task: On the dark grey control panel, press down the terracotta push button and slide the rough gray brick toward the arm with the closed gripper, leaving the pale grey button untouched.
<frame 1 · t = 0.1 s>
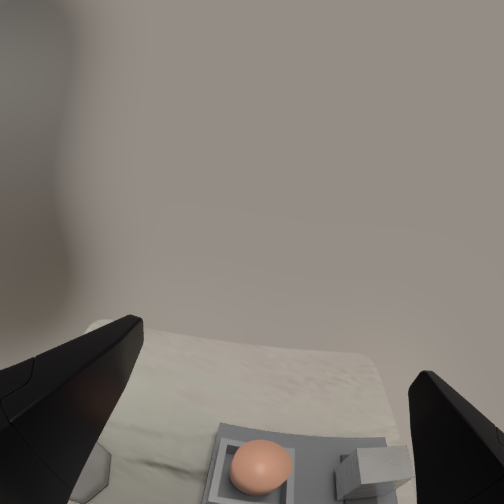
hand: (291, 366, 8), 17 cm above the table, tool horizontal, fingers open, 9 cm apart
flask: (70, 464, 13), on the table
terracotta button: (259, 468, 14), point 5 cm above the table, slide at 0.0 cm
rough gray brick: (373, 473, 14), point 4 cm above the table, slide at 0.0 cm
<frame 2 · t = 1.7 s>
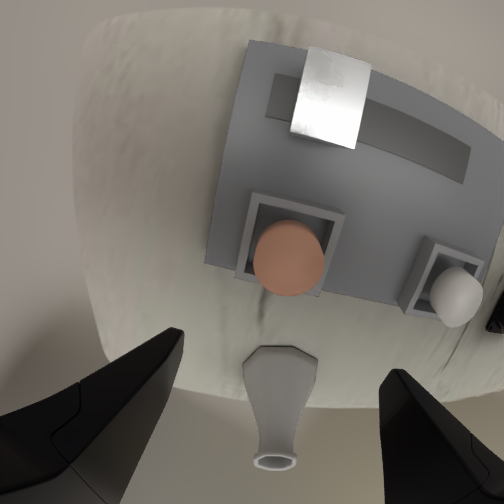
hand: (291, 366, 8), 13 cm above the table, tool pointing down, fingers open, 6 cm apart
flask: (279, 370, 25), on the table
terracotta button: (288, 257, 15), point 5 cm above the table, slide at 0.0 cm
rough gray brick: (326, 100, 12), point 4 cm above the table, slide at 0.0 cm
grey button: (456, 297, 15), point 5 cm above the table, slide at 0.0 cm
panel: (383, 191, 18), on the table
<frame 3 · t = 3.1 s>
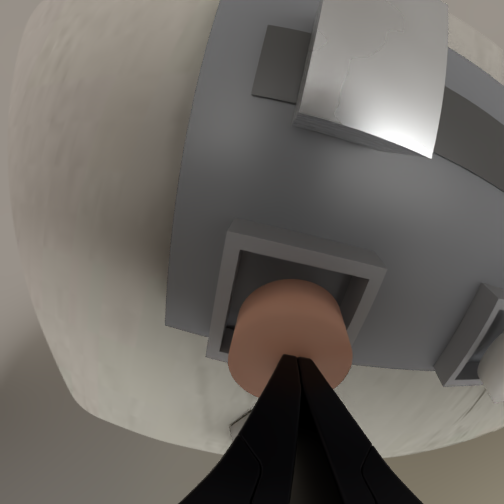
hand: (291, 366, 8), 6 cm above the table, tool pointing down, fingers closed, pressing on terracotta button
terracotta button: (290, 344, 8), point 5 cm above the table, slide at 0.1 cm, touching gripper
rough gray brick: (365, 63, 6), point 4 cm above the table, slide at 0.0 cm
panel: (430, 217, 11), on the table
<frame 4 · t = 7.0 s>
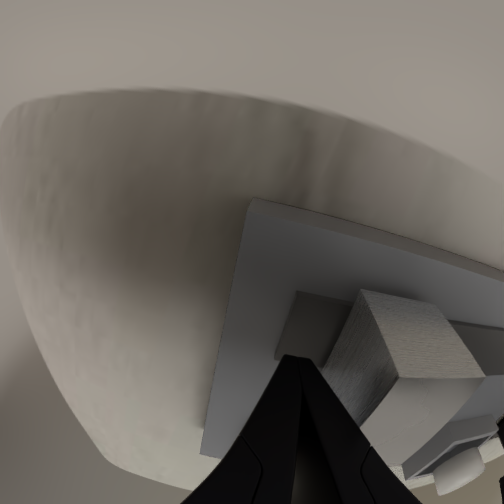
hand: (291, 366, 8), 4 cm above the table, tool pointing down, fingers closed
rough gray brick: (386, 387, 7), point 4 cm above the table, slide at 0.2 cm, touching gripper
grey button: (459, 472, 10), point 5 cm above the table, slide at 0.0 cm
panel: (415, 381, 13), on the table
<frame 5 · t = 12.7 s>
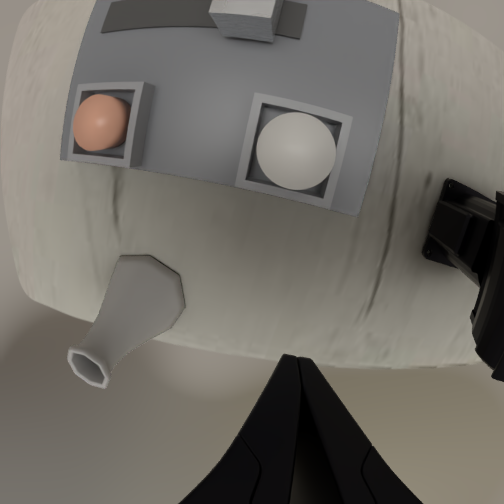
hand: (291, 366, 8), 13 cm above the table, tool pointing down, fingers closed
flask: (148, 290, 23), on the table
terracotta button: (102, 122, 14), point 3 cm above the table, slide at 1.6 cm
grey button: (295, 150, 13), point 5 cm above the table, slide at 0.0 cm
panel: (216, 70, 16), on the table
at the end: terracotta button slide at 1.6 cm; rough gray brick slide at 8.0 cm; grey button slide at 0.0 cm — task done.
